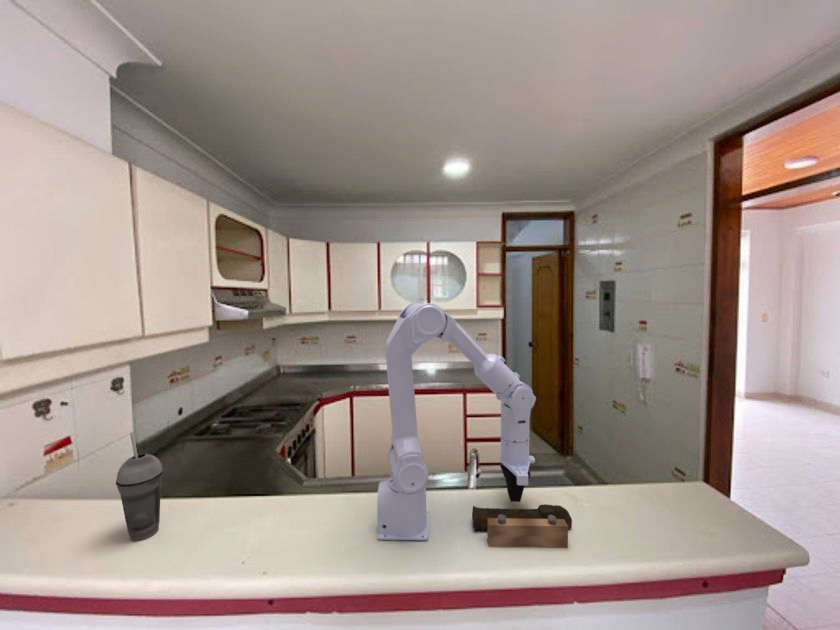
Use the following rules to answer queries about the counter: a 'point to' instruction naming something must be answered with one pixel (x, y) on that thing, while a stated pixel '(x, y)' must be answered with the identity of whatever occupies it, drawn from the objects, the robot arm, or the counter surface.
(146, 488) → the beverage cup
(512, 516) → the hand tool
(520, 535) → the stop rail
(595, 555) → the counter surface
